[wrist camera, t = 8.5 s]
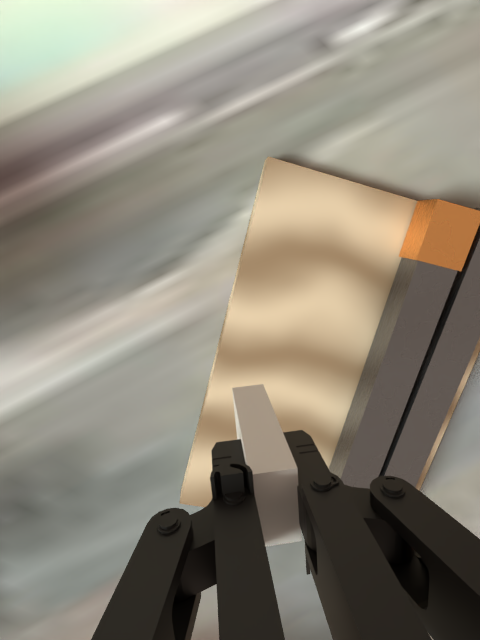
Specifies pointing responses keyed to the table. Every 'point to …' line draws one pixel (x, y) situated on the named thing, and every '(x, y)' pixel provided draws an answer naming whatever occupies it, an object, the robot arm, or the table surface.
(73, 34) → the table surface
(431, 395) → the bar
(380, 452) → the bar
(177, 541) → the robot arm
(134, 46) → the table surface
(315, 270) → the serving board
